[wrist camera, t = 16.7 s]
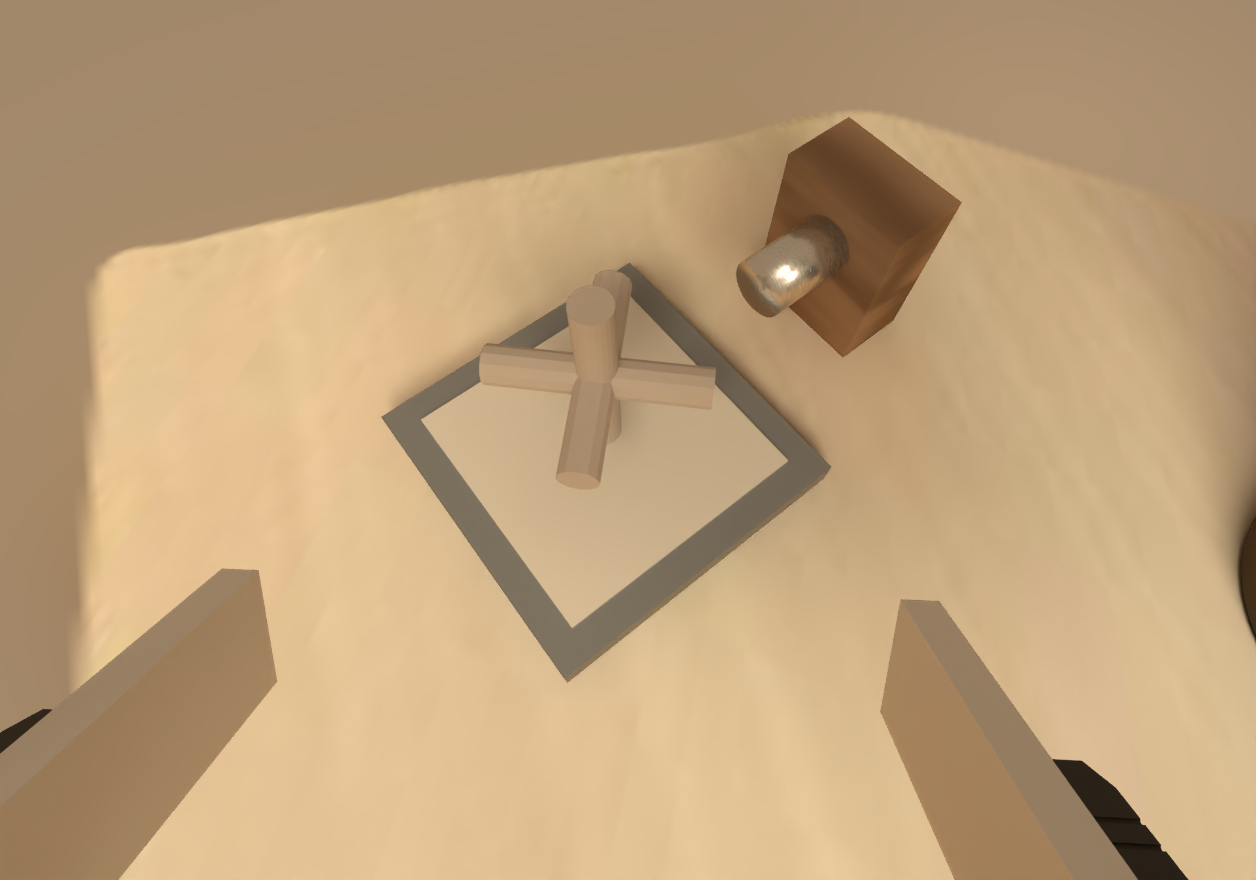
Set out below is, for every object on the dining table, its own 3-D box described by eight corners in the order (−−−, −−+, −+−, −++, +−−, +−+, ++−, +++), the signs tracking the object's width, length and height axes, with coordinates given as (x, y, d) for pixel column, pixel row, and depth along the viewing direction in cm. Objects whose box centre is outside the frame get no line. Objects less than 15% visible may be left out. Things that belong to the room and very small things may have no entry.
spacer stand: (756, 200, 43) (784, 68, 35) (954, 374, 37) (1043, 264, 29) (390, 429, 36) (320, 332, 28) (567, 682, 31) (543, 652, 22)
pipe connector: (483, 510, 32) (423, 409, 23) (524, 335, 37) (487, 193, 28) (694, 535, 32) (716, 442, 23) (711, 354, 36) (735, 215, 27)
